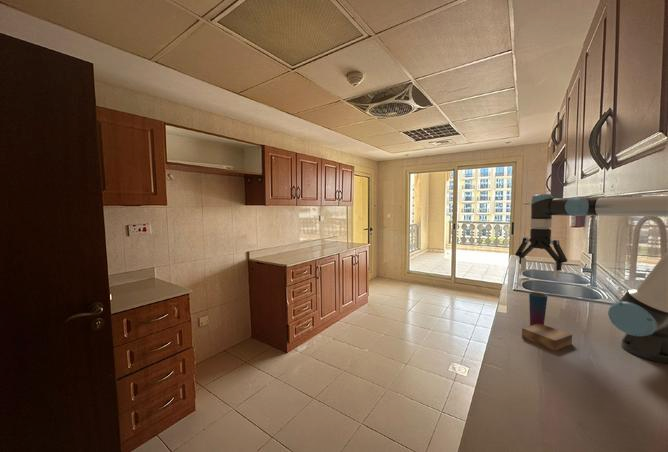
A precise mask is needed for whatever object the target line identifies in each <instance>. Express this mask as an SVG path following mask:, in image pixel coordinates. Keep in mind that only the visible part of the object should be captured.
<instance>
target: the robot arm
mask: <svg viewBox="0 0 668 452" xmlns="http://www.w3.org/2000/svg"><path fill="white" fill-rule="evenodd" d="M578 197H579V196H578ZM578 197H577V196H573V197H562V198H561V197H560V198H558V197H553V194H550V193H549V194H548V193H543V194H540V193H539V194H533V195H532V198H531V203H530V207H531V208H530V209H531V210H530V213H531V214H530V230H529V231H530V234H529V235H530V238H529V237H523V238H522V241H521V243H520V245H519V247H518V249H517V251H516V252H515V256H516V257H518V258H519V265H520V272H522V273H523V272H526V271H527V257H526V256H528V255H529V253H530V252H531V251H533V250H534V249H539V250H545V251H546V253H548V254H549V256H551V258H552V259H553V260H554V261H555V262H553V274H552V275H553V279H556V278H558V279H559V278H560V271H562V269H563V267H562V266H563V263H568V258H567V257H566V255H565V253H564V251H563V249H562V246H561V245H560V240H558V239H553V240H552V239H551V237H552V219H553V218H552V216H567V217H577V216H579V217H580V216H581V217H582V216H585V217H586V216H591V217H592V216H597V217H598V216H604V217H605V216H606V217H607V216H609V217H657V218H658V217H661V218H662V217H663V218H666V217H667V218H668V195H654V196H653V195H651V196H650V195H647V196H646V195H645V196H621V197H620V196H619V197H618V196H615V197H614V196H613V197H581V196H580V197H581V198H578ZM528 243H530V244H529V245H528ZM527 245H528V247H527ZM551 245H552V246H553V248H552V247H551ZM607 315H608V318H609V320H610V322H611V323H612V325H613V326H614V327H615V328H617V330H619V331H621V332H623V333H625V334H624V336H623V337H622V339H621V342H620V343H621V345H620V346H621V348H622V349H623V350H625V351H626V352H627V353H631V354H632V355H635V356H637V357H640V358H642V359H647V360H649V361H654V362H656V363H657V362H658V363H661V364H668V250H666V251H665V254H664V255H663V256H661V259H659V261H658V262H657V263H656V265H654V267H653V269H651V271H650V272H649V273H648V274H647V275H646V277H645V278H644V280H643V281H642V282H641V283H640V285H639V286H638V287H636V288H628V290H627V291H626V292H625V294H623V296H622V297H621V299H619V301H617V302H614V303H613V304H611V306H610V307H609V309H608V312H607Z"/></svg>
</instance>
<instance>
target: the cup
mask: <svg viewBox="0 0 668 452" xmlns="http://www.w3.org/2000/svg"><path fill="white" fill-rule="evenodd" d="M528 297H529V300H528V301H529V326H531V325H535V324H538V323H540V324H543V325H545V319H546V312H547V311H546V310H547V304H548V297H549V295H547V294H545V293H542V292H536V291H535V292H534V291H533V292H529V293H528Z"/></svg>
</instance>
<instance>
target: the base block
mask: <svg viewBox="0 0 668 452" xmlns="http://www.w3.org/2000/svg"><path fill="white" fill-rule="evenodd" d="M521 330H522V331H521V338H522V339H525V340H527V341H530V342H531V343H535V344H537V345H540V346H542V347H544V348H546V349H550V350H552V351H554V352H556V351H558V350H560V349H563V348H566V347H570V346H572V343H573V334H571V333H569V332H565V331H563V330H559V329H557V328H554V327H551V326H548V325H546V324H544V325H543V324H540V323H538V324H535V325H529V326H526V327H522V329H521Z"/></svg>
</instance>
